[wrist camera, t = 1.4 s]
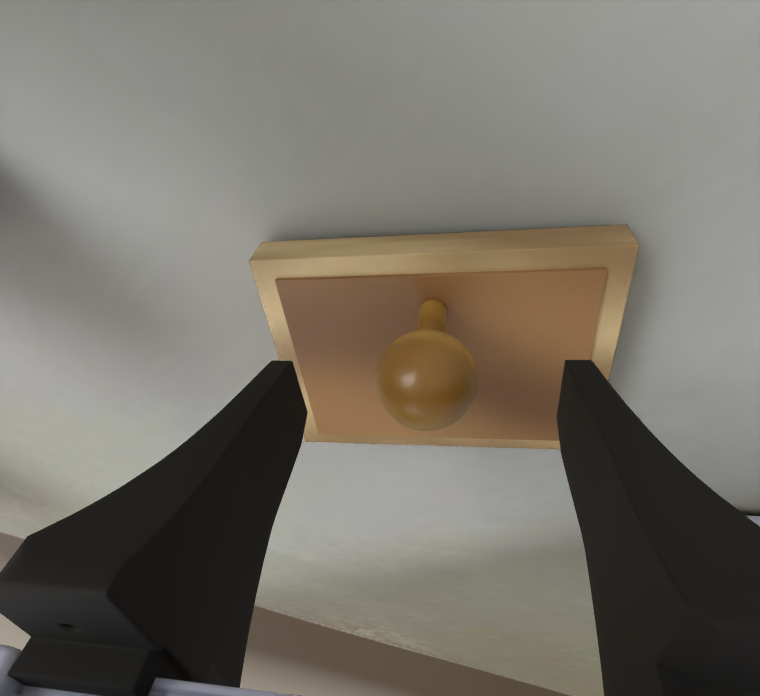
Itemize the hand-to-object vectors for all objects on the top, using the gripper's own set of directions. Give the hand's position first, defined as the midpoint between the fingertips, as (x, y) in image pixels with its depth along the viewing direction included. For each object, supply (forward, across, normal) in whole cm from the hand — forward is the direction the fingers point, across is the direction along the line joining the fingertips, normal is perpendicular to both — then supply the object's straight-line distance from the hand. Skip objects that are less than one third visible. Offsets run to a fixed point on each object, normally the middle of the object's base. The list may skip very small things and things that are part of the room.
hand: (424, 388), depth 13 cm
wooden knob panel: (+5, 0, +3) cm, 6 cm away
